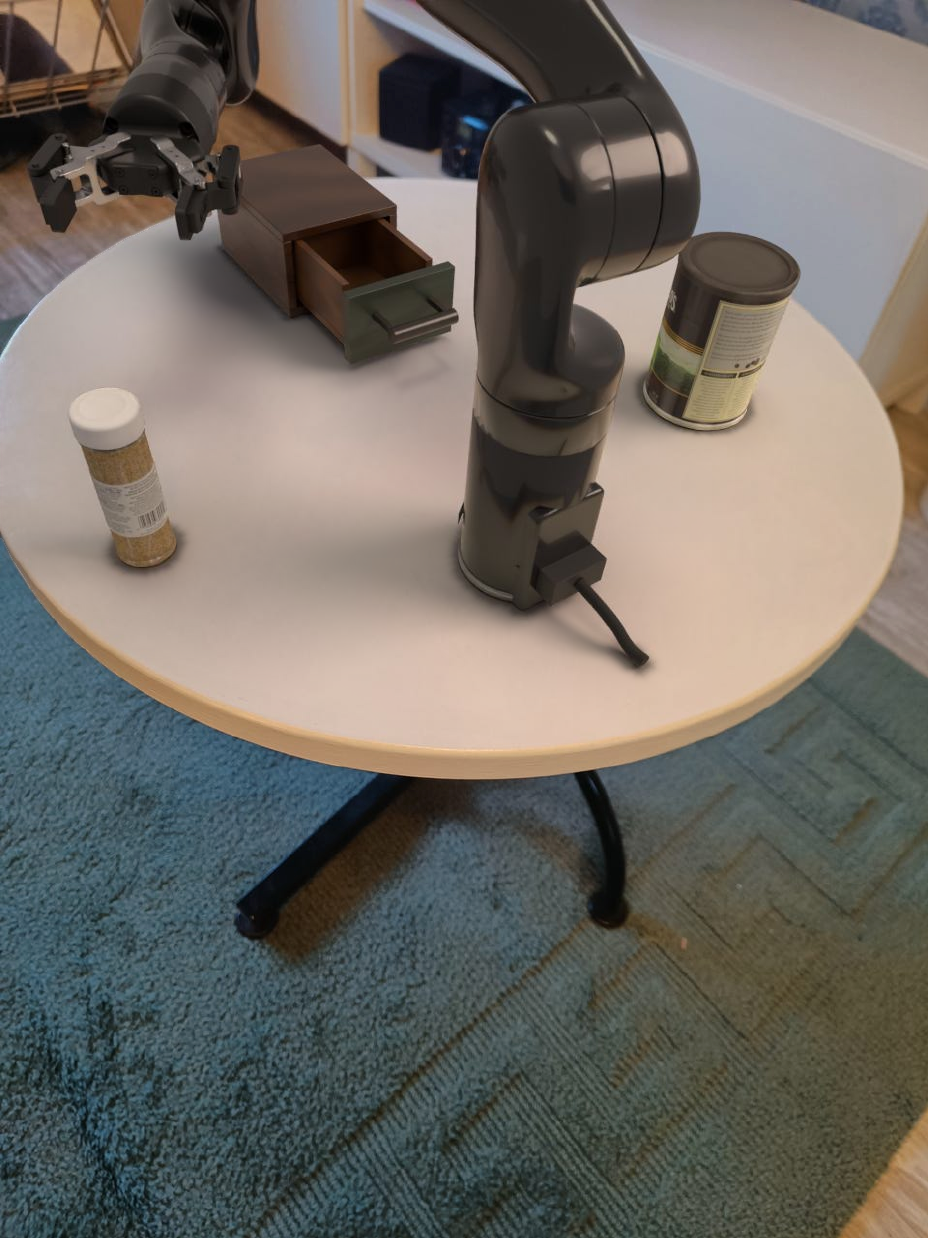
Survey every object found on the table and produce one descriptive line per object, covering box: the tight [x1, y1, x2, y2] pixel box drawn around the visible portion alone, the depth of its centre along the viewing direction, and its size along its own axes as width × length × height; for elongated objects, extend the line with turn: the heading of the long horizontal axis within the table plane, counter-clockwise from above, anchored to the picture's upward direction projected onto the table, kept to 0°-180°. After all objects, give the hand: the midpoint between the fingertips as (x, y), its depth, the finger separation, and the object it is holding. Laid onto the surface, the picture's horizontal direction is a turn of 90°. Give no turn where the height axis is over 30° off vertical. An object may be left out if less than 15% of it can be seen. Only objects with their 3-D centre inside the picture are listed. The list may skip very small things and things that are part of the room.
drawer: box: [291, 218, 460, 365], centre depth 85 cm, size 19×12×7 cm, turn 35°
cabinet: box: [211, 143, 398, 319], centre depth 91 cm, size 16×13×9 cm
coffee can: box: [642, 231, 802, 431], centre depth 79 cm, size 10×10×14 cm
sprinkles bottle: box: [67, 387, 177, 568], centre depth 62 cm, size 5×5×13 cm
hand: (118, 223), depth 59 cm, fingers open, 8 cm apart
